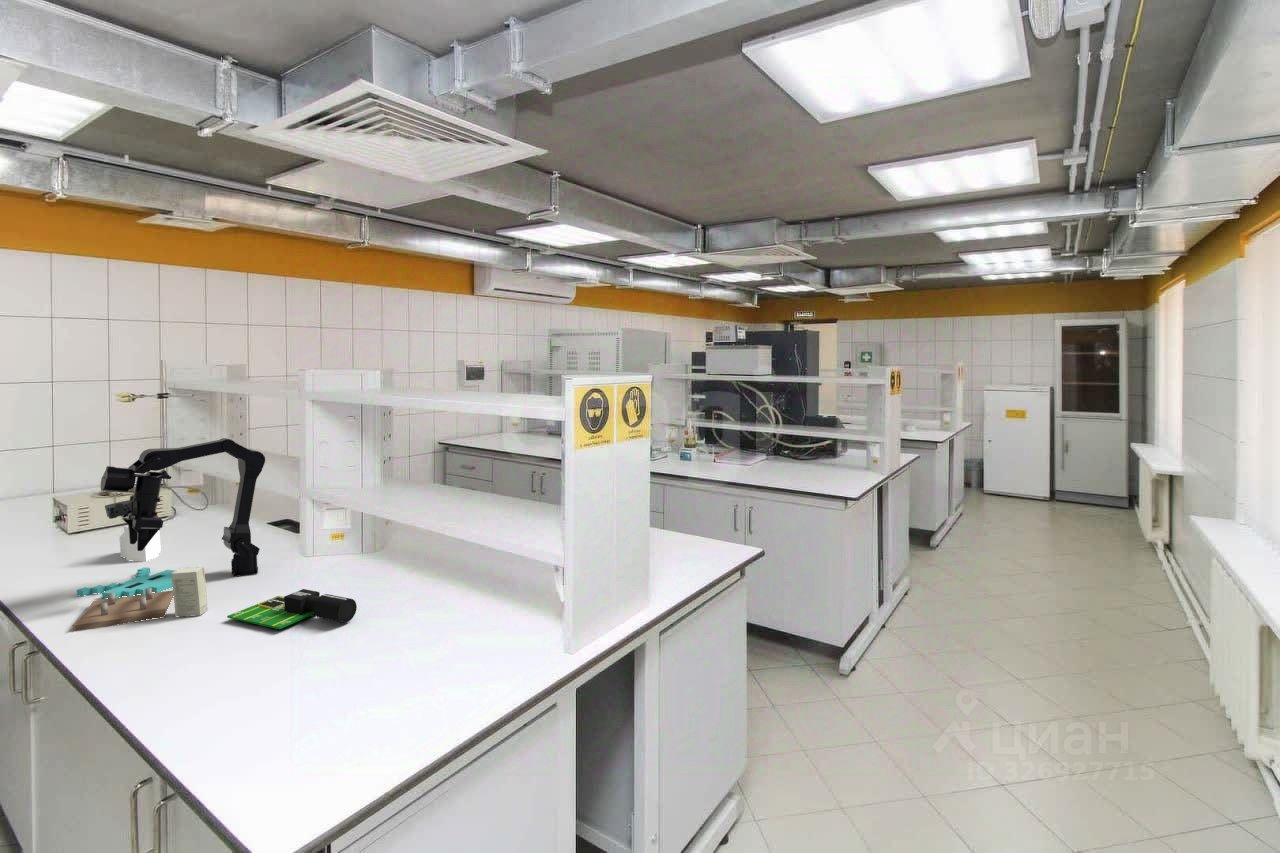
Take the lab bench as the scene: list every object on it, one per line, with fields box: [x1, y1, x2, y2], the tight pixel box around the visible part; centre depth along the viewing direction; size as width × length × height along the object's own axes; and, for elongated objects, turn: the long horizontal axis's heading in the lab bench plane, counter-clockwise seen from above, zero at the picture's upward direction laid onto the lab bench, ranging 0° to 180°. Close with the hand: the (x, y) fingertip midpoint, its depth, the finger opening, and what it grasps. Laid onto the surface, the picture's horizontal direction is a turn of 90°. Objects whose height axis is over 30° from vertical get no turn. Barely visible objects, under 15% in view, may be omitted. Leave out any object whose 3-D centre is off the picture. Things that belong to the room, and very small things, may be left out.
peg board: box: [73, 588, 174, 632], centre depth 170 cm, size 18×18×4 cm
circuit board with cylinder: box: [226, 588, 358, 630], centre depth 166 cm, size 30×7×15 cm
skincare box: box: [171, 566, 209, 617], centre depth 169 cm, size 6×4×12 cm
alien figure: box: [76, 566, 177, 598], centre depth 188 cm, size 20×2×20 cm
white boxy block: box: [118, 524, 162, 562], centre depth 216 cm, size 11×11×12 cm
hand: (136, 547), depth 179 cm, fingers open, 9 cm apart
